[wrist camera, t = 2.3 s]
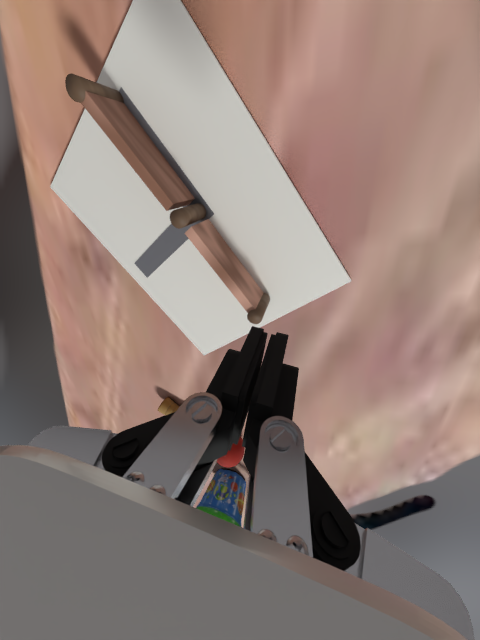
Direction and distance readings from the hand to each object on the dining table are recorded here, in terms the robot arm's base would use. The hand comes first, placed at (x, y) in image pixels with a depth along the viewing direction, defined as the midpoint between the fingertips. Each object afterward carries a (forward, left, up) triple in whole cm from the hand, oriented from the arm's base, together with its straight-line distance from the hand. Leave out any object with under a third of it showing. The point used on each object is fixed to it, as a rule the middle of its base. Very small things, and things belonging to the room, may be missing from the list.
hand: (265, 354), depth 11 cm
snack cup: (+41, +37, -17) cm, 58 cm away
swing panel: (+6, -3, -16) cm, 18 cm away
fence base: (+6, -15, -17) cm, 23 cm away
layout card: (+9, -9, -17) cm, 21 cm away
